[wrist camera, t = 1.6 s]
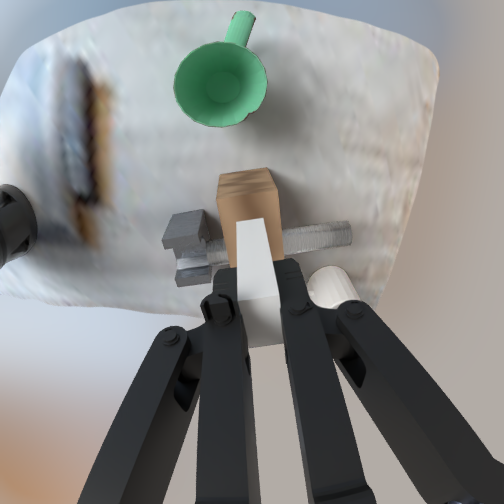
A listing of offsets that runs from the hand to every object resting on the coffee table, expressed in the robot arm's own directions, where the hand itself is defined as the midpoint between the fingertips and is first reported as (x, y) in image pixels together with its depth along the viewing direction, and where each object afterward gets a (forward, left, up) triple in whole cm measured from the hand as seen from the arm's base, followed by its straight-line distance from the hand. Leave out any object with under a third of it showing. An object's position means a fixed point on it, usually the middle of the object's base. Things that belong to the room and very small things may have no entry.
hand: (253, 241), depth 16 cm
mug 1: (0, +12, -27) cm, 29 cm away
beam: (0, -12, -26) cm, 29 cm away
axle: (+4, -12, -21) cm, 25 cm away
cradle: (-9, -12, -26) cm, 30 cm away
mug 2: (+11, -26, -27) cm, 38 cm away
